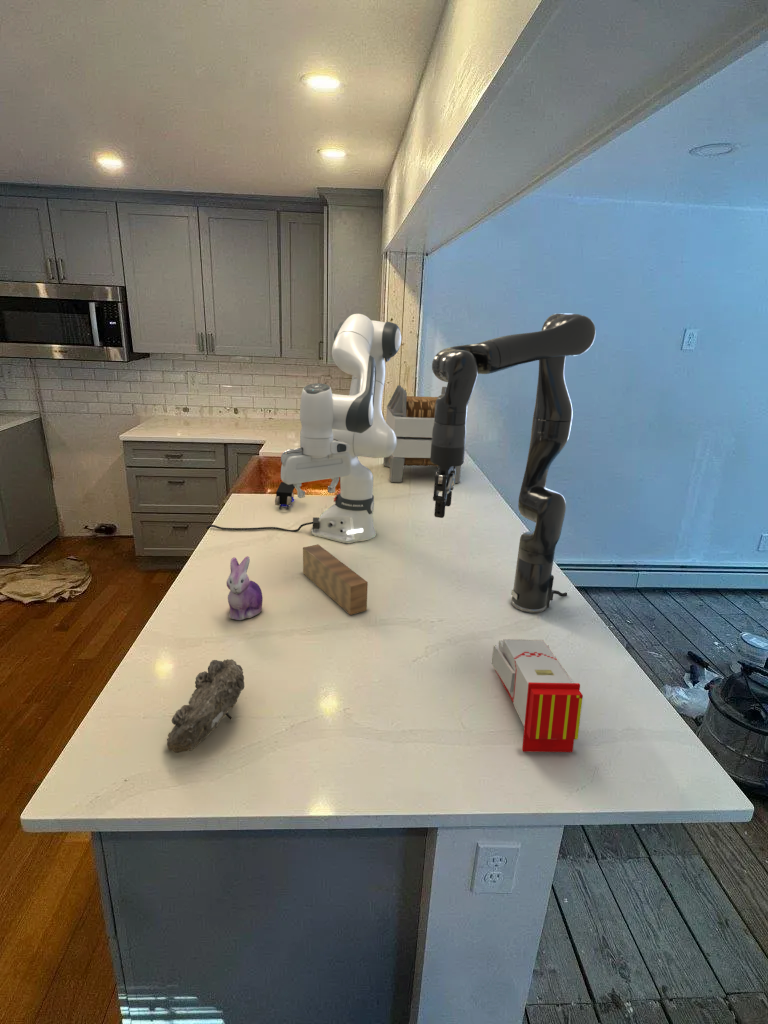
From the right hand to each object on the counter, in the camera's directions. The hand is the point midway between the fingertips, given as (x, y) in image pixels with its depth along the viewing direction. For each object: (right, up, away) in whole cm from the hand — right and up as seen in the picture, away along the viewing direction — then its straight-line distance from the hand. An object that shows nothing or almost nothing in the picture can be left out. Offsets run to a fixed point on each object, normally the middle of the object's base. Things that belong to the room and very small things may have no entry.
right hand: (442, 511), depth 131 cm
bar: (-28, -22, +27) cm, 45 cm away
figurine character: (-52, +2, +92) cm, 106 cm away
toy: (+16, -39, -16) cm, 45 cm away
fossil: (-46, -39, -23) cm, 65 cm away
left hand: (-32, +5, +26) cm, 42 cm away
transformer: (+4, +19, +144) cm, 145 cm away
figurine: (-49, -26, +14) cm, 57 cm away
